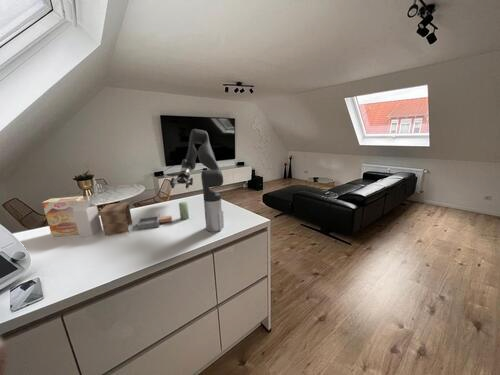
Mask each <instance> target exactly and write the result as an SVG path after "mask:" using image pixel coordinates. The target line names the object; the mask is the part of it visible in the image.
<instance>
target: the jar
mask: <svg viewBox="0 0 500 375" xmlns="http://www.w3.org/2000/svg"><path fill="white" fill-rule="evenodd" d="M178 207H179V208H178V209H179V216H180V220H181V221H187V220H189V218H190V217H189V205H188V202H185V201H180V202H179V203H178Z"/></svg>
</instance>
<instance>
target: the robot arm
mask: <svg viewBox="0 0 500 375" xmlns="http://www.w3.org/2000/svg"><path fill="white" fill-rule="evenodd" d="M195 144H198V145H200V146H199V148H198V149H197V148H196V147H195ZM197 157H198V160H199V162H200V164H202V165H203V166H205V167H206V168H207V169H205V170H204V169H203V170H202V171H201V172H200V173H201V177H200V179H201V185H202V193H203V196H202V197H203V206H204V208H203V209H204V218H205V230H206V231H207V232H212V233H215V232H222V229H223V228H224V226H225V224H224V223H225V222H224V210H223V208H222V195H221V193H220V192H217V191H214V190H211V189H210V188H216V187H221V186H222V185H223V184H224V176H223V173H222V170H221V168H220V166H219V164H218V162H217V160H216V156H215V152H214V150H213V148H212V146H211V143H210V136H209V134H208V132H207V130H204V129H198V128H193V129H191V131H190V134H189V141H188V149H187V153H186V155H185V158H183V159H182V161H181V164H180V165H181V169H180V171H179V172H178V175H177V177H176V178H174V177H172V178H171V179H170V181H169V184H170V186H171V188H172V189H175V186H177V185H181V184H183V185H185V189H188V188H189V186H193V182H194V178H193V177H191V173H192V171H193V170H195V168H196V160H197Z"/></svg>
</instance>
